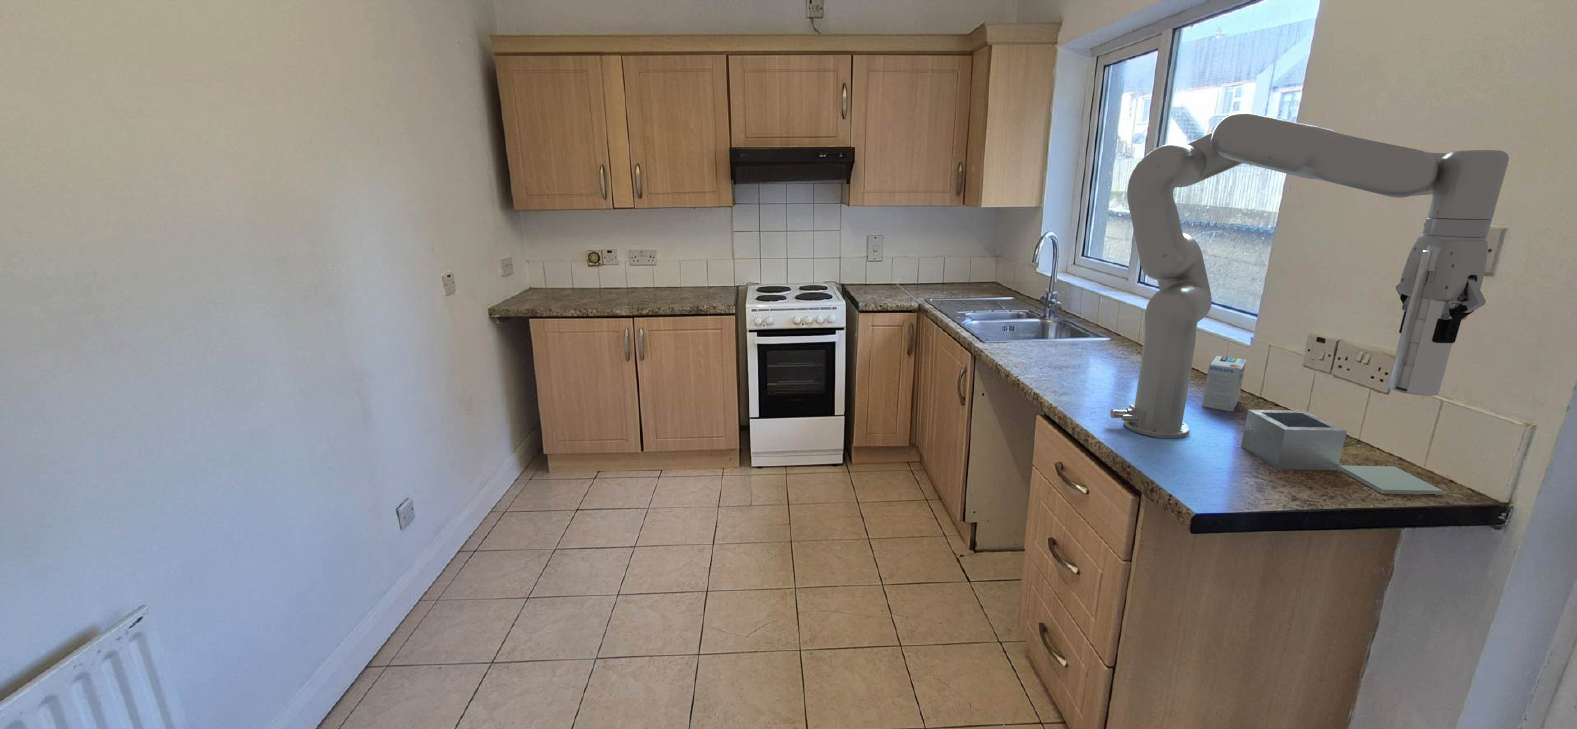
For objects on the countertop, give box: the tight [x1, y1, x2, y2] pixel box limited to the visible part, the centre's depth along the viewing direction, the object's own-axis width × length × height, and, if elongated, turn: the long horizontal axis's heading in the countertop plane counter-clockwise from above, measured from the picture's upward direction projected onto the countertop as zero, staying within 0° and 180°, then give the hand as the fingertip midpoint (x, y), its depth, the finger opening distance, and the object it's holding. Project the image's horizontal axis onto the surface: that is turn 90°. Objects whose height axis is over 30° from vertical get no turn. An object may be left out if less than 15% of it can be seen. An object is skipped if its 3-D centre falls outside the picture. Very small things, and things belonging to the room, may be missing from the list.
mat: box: [1337, 464, 1444, 496], centre depth 118 cm, size 10×10×1 cm
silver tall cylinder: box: [1387, 245, 1462, 397], centre depth 110 cm, size 6×6×25 cm
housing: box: [1240, 409, 1348, 471], centre depth 127 cm, size 11×11×8 cm
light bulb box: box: [1201, 355, 1248, 413], centre depth 158 cm, size 11×7×11 cm, turn 141°
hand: (1426, 337), depth 111 cm, fingers closed on silver tall cylinder, 5 cm apart
